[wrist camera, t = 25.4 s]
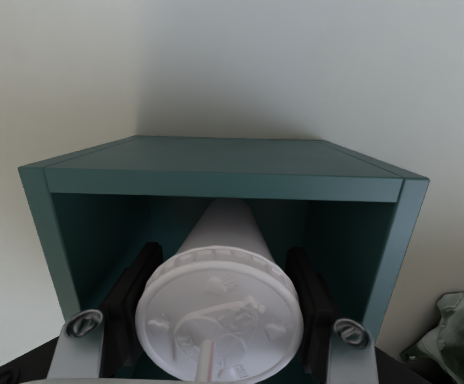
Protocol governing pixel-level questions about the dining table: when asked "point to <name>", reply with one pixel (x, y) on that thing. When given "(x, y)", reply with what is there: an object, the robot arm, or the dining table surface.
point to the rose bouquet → (444, 339)
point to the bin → (230, 186)
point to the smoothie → (221, 303)
